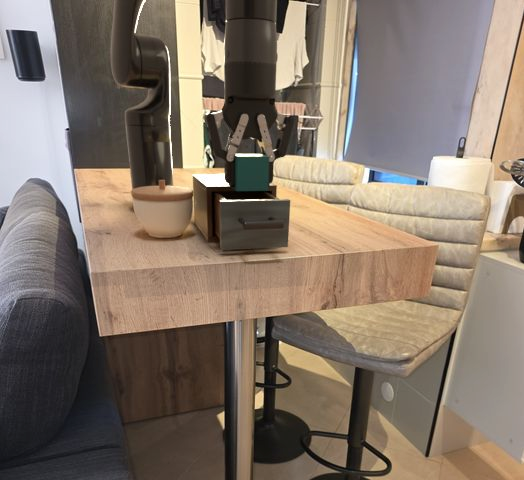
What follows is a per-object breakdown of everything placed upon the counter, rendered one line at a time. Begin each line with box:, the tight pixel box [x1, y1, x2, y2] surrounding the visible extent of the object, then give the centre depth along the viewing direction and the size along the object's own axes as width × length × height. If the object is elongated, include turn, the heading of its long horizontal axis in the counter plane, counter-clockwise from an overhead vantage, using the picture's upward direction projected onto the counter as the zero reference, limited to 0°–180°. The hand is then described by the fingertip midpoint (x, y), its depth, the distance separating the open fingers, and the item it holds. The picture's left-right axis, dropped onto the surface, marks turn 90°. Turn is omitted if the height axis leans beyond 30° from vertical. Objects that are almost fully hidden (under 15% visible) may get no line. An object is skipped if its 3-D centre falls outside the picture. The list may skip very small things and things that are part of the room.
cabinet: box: [192, 173, 278, 243], centre depth 86 cm, size 16×12×9 cm
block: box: [232, 153, 269, 191], centre depth 72 cm, size 5×5×5 cm
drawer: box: [212, 191, 291, 251], centre depth 75 cm, size 20×11×7 cm, turn 16°
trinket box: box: [130, 180, 194, 239], centre depth 81 cm, size 11×11×9 cm
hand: (248, 185), depth 73 cm, fingers closed on block, 5 cm apart
